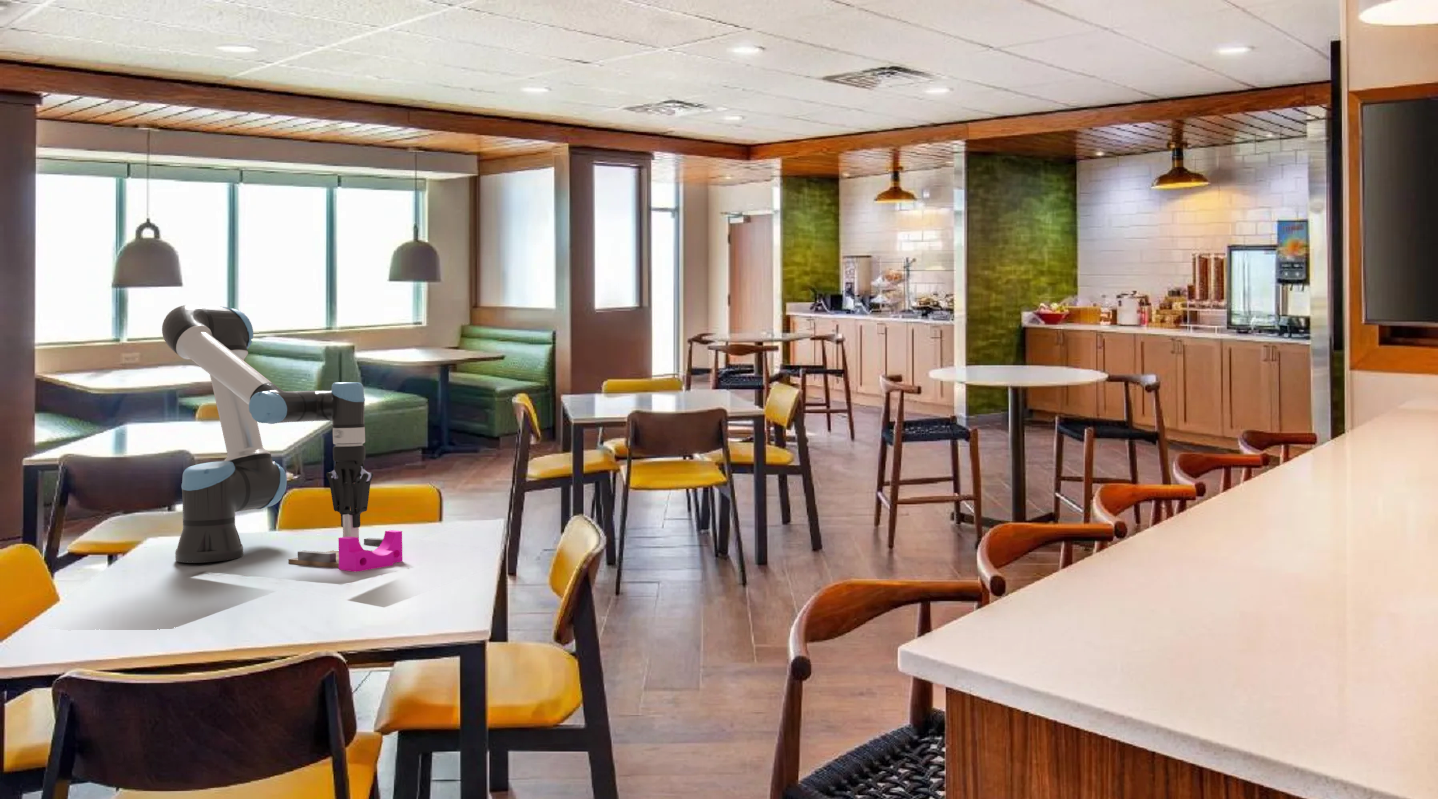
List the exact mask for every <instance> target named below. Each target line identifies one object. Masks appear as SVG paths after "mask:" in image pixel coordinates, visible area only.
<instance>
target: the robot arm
mask: <svg viewBox="0 0 1438 799" xmlns="http://www.w3.org/2000/svg"><path fill="white" fill-rule="evenodd" d="M161 334H162V337H163V340H164V342H165V344H166V345H167V346H168V348H170V349H171V351H173V352H174V353H175V354H177V355H178V356H179V357H180V358H181V359H184V360H191V361H192V362H194V363H195V364H196V365H197V366H199V367H200V368H201V369H202V370H203V371H205V372H206V373H208V374H209V378H210V382H211V385H212V390H213V394H214V400H215V403H216V408H217V413H218V417H219V423H220V425H221V426H220V427H221V431H222V436H223V439H224V444H225V449H226V454H227V456H226V457H225V459H224V460H221V461H220V460H219V461H210V462H203V463H198V464H195V465H194V464H193V465H191V466H188V467H186V468H185V469H184V471H182V472H183V473H182V479H181V480H182V481H181V482H182V483H181V493H182V494H181V495H182V531H181V533H180V537H179V540H178V544H177V548H176V549H175V553H174V554H175V556H174V557H175V561H176V562H177V563H178V562H179V563H188V564H189V563H193V564H195V563H199V564H200V563H213V562H222V561H223V562H225V561H230V560H235V559H239V558H242V557H243V556H244V546H243V544H242V541H241V538H240V535H239V532H238V529H237V528H236V513H238V512H242V511H250V510H261V509H265V508H269V507H272V506H274V505H276V504H277V503H279V501H281V500H282V498H283V495H284V494H285V493H286V490H287V482H288V480H287V479H288V478H287V475H286V471H285V470H284V468H283V467H282V466H281V464H279V463H277V462H275V461H273V457H272V453H271V452H270V451H268V450H267V449H265V448H264V446H263V442H262V438H261V433H260V429H259V425H258V423H260V424H269V425H272V424H273V425H274V424H281V423H283V424H284V423H299V422H300V423H302V422H303V423H304V422H305V423H306V422H324V421H325V422H328V421H330V422H332V444H333V445H334V446H333V447H332V460H333V461H334V462H335V465H334V469H333V470H331V471H330V472H326V474H325V475H326V478H327V480H328V482H329V488H330V494H331V500H332V501H331V502H332V507H333V510H334V512H337V513H339V514H340V525H341V527H342V537H348V536H349V537H357V538H359V539H360V536H359V535H360V529H359V528H360V527H361V514H362V513H364V512H367V511H368V506H369V498H370V489H371V482H372V480H373V478H374V473H373V472H369V471H367V470H366V467H365V464H364V461H365V460H366V446H365V445H363V444H365V443H366V427H365V425H366V424H365V405H366V404H365V400H366V398H365V390H364V389H365V388H364V384H362V383H361V382H358V381H357V382H350V381H349V382H333V383H332V384H331V390H297V391H296V390H288V391H287V390H283V389H281V388H280V387H278V386H277V385H275V383H273V382H272V381H270V380H269V379H268V378H267V377H265V376H264V375H262V374H261V373H260V372H259V371H257V370H256V368H254V367H252V366H251V365H250V364H249V363H247V362H246V361H244V360H245V359H246V358H247V356H248V355H249V351H248V349H249V348H250V347H251V345H252V343H253V341H252V340H253V339H254V328H253V325H252V322H251V321H250V319H249V317H248V316H247V315H246V314H245V313H244V312H242V311H241V310H239V309H236V308H230V307H226V306H208V305H207V306H206V305H205V306H204V305H195V304H184V305H180V306H178V307H175V308H173V309H172V310H171V311H169V312H168V313H167V315H166V316H165V318H164V319H163V322H162V326H161Z"/></svg>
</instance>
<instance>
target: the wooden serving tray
mask: <svg viewBox="0 0 1438 799" xmlns="http://www.w3.org/2000/svg"><path fill="white" fill-rule="evenodd" d="M382 541H383V538H376V537H368V538H364V539H363V544H364V545H370V546H376V545H380V544H381V543H382ZM370 551H371V552H372V551H373V550H370ZM288 564H291V565H303V566H313V567H324V568H325V567H328V568H338V569H339V551H334V550H328V551H315V550H314V551H313V550H299V551H297V557H294V558H289V559H288Z"/></svg>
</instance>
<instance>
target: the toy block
mask: <svg viewBox="0 0 1438 799" xmlns="http://www.w3.org/2000/svg"><path fill="white" fill-rule="evenodd" d="M382 539H383V541H382V543H381V544H380V546H377V548H376V549H374V550H368V549H363V547H362V545H361V543H360V537H359V538H357V537H349V536H348V537H343V536H342V537H338V540H337V541H338V550H339V568H338V570H341V571H347V572H348V571H349V572H354V573H357V572H364V571H368V570H373V569H379V568H380V569H381V568H386V567H390V566H394V564H395V563H401V561H402V562H403V531H402V530H394V529H392V530H391V529H390V530H385V531H384V535H383V538H382ZM371 551H372V552H371Z"/></svg>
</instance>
